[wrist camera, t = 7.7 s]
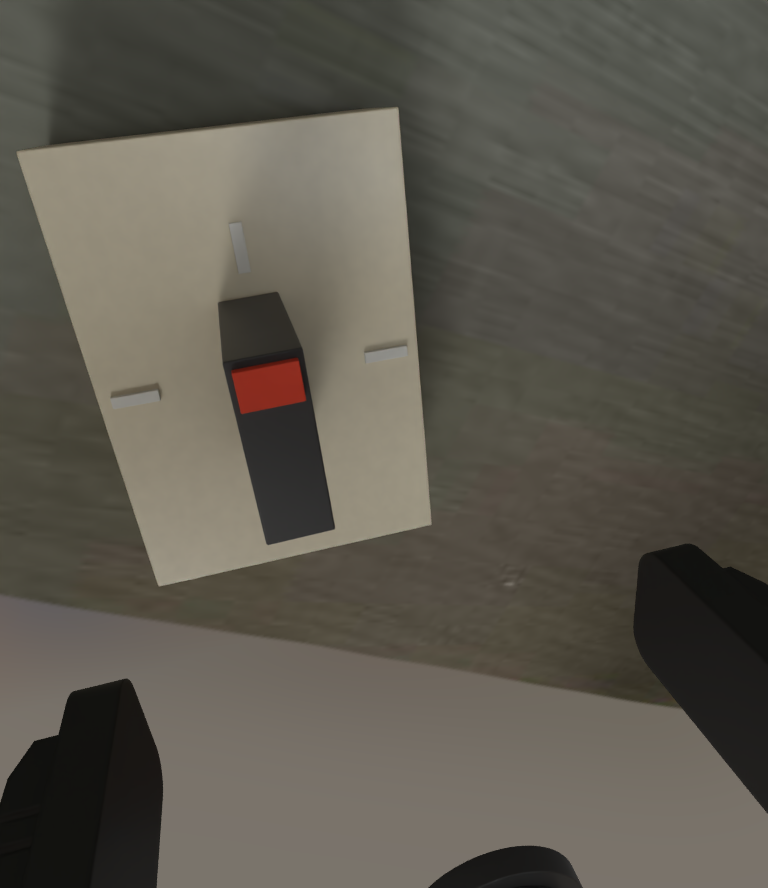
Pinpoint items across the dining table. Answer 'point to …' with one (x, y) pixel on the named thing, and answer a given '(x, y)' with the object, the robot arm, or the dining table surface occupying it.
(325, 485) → the knob
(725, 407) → the dining table surface
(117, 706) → the robot arm
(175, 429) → the panel
